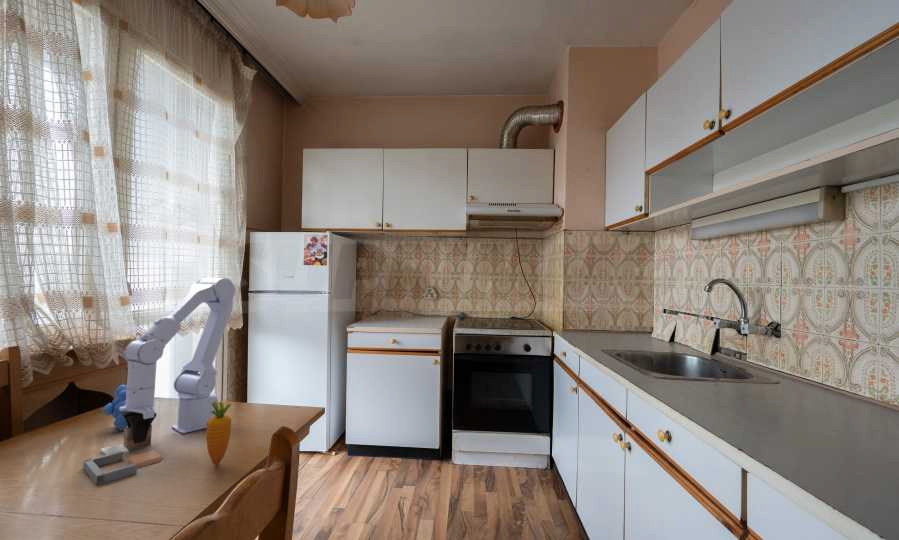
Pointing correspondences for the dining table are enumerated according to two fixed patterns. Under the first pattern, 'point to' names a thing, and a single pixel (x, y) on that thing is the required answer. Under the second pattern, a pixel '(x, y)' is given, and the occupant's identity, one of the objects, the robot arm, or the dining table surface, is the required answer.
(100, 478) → the bay
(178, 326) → the robot arm
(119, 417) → the grapes
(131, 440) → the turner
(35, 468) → the dining table surface
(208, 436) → the carrot
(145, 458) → the tile
